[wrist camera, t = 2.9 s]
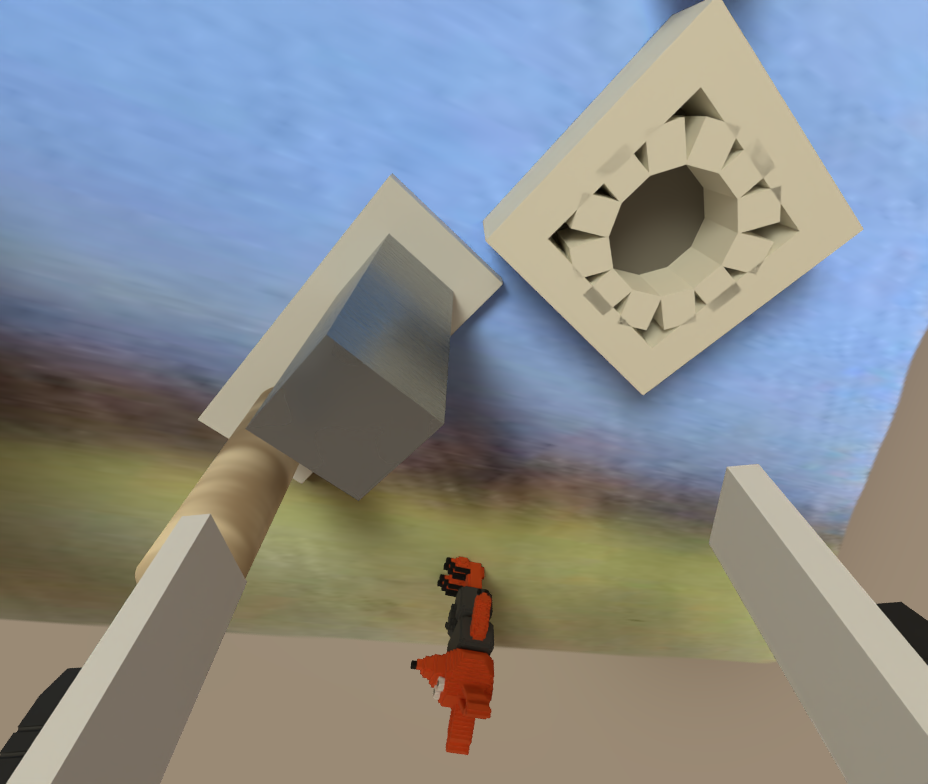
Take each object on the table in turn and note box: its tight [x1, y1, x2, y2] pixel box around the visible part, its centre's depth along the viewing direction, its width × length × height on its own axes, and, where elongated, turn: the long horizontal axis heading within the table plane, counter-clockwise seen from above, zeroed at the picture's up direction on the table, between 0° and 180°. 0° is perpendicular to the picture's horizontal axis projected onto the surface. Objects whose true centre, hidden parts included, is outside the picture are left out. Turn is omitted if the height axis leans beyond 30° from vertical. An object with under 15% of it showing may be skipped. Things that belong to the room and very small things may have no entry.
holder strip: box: [198, 173, 503, 484], centre depth 29 cm, size 8×20×1 cm, turn 137°
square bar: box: [245, 234, 454, 501], centre depth 21 cm, size 5×5×13 cm
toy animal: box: [411, 557, 494, 755], centre depth 35 cm, size 8×6×12 cm
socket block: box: [483, 0, 863, 395], centre depth 24 cm, size 12×12×4 cm
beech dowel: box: [135, 387, 299, 584], centre depth 25 cm, size 4×4×13 cm
